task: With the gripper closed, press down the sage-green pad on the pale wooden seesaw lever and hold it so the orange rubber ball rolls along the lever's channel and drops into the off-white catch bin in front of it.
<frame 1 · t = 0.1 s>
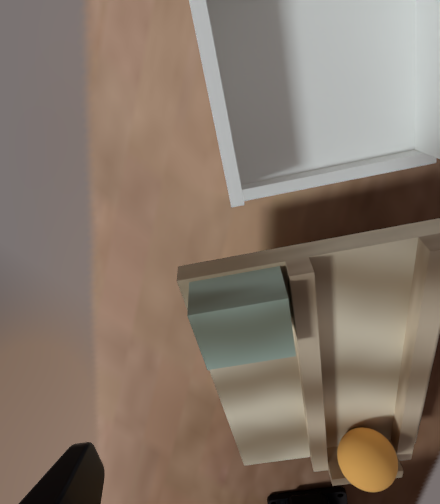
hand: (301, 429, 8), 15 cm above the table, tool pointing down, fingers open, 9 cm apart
ball: (366, 458, 23), point 4 cm above the table, tilted 10°, touching lever
catch bin: (315, 74, 18), on the table
lever: (325, 388, 21), point 4 cm above the table, hinge at -12.0°, touching ball
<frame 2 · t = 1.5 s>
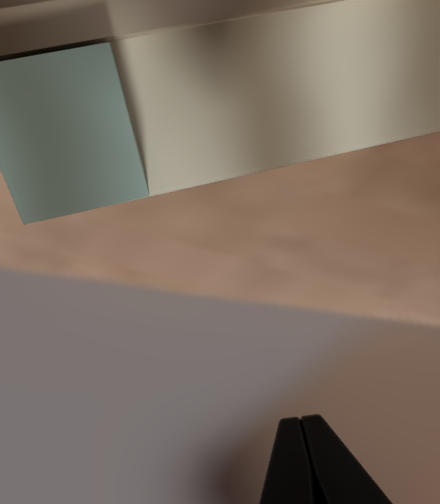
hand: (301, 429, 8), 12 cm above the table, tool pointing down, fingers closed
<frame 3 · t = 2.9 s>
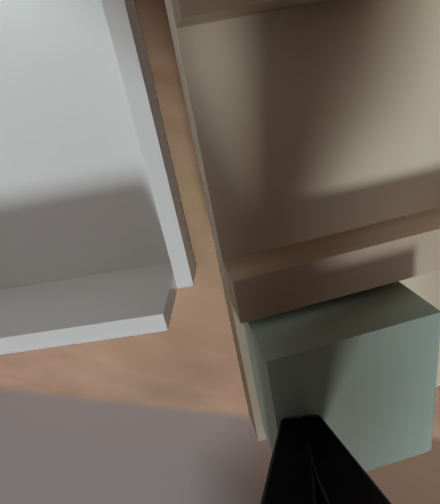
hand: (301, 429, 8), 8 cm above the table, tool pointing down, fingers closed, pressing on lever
catch bin: (24, 162, 13), on the table
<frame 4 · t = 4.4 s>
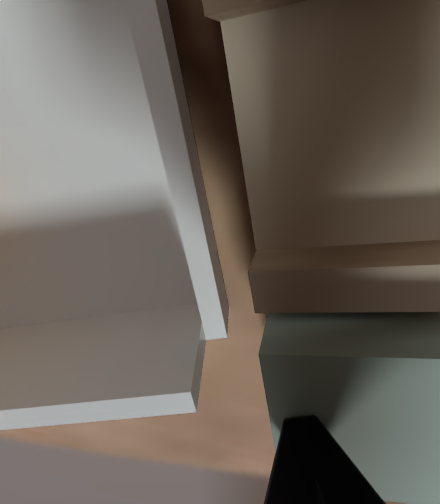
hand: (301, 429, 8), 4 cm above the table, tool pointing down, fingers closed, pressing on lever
catch bin: (15, 175, 10), on the table
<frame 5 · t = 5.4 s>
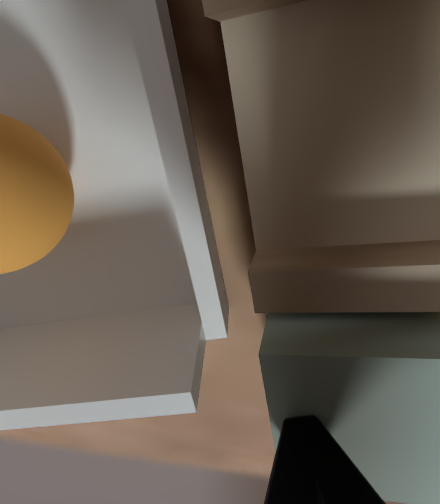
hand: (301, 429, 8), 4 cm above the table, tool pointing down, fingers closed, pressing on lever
catch bin: (14, 175, 10), on the table
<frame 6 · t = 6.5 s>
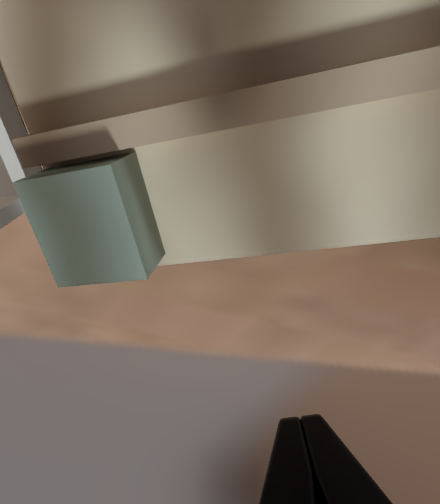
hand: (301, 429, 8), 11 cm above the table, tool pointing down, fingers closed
lever: (278, 71, 11), point 4 cm above the table, hinge at 11.3°
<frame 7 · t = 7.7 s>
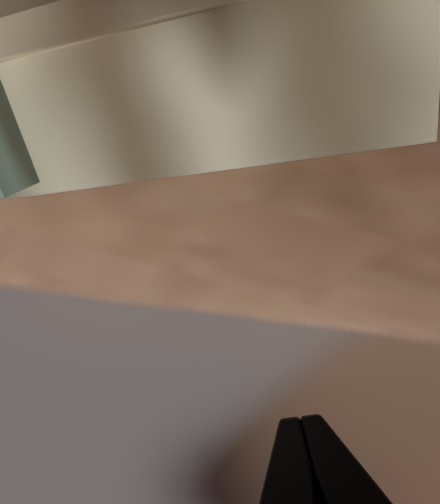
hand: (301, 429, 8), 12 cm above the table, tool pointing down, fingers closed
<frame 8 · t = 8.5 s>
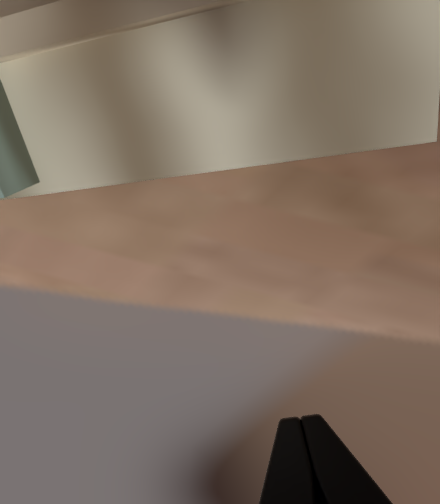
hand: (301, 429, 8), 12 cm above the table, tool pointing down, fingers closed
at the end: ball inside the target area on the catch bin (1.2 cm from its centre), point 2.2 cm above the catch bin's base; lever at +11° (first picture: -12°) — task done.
